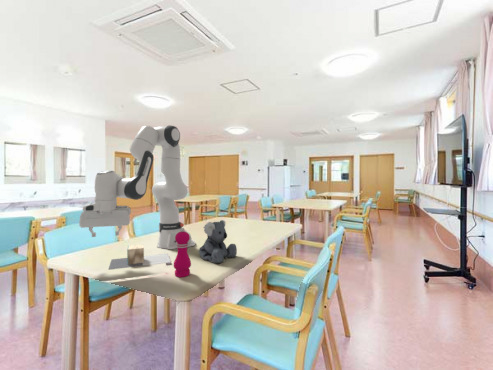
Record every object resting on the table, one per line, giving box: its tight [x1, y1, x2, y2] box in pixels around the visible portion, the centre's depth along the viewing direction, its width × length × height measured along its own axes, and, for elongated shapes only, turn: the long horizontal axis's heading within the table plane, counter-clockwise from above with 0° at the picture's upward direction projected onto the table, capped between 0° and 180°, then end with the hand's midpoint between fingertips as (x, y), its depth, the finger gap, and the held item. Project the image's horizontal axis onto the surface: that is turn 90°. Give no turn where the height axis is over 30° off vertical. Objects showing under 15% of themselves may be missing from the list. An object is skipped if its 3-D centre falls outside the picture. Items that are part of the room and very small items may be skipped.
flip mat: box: [108, 253, 172, 270], centre depth 123 cm, size 26×15×1 cm, turn 113°
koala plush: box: [198, 219, 237, 264], centre depth 132 cm, size 17×18×20 cm
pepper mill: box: [173, 227, 192, 278], centre depth 108 cm, size 7×7×20 cm
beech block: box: [126, 244, 145, 264], centre depth 122 cm, size 7×7×7 cm
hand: (105, 236), depth 116 cm, fingers open, 8 cm apart
